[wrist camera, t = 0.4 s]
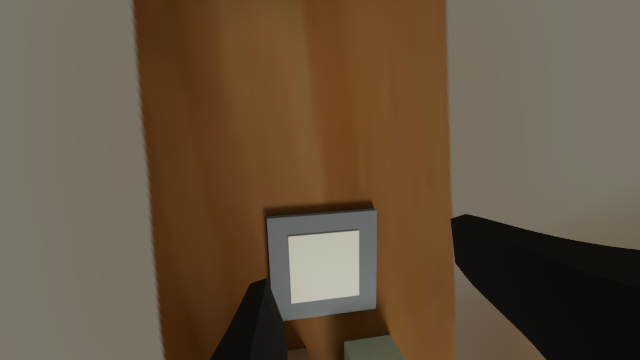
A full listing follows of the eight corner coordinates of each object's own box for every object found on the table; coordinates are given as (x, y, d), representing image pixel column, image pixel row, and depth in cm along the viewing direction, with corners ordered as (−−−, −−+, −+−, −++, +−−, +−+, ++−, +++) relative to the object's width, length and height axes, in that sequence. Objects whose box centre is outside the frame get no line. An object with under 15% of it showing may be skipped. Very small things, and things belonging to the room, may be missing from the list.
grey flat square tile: (373, 304, 24) (376, 309, 23) (272, 317, 23) (273, 323, 22) (374, 208, 23) (377, 210, 22) (266, 216, 21) (266, 219, 21)
